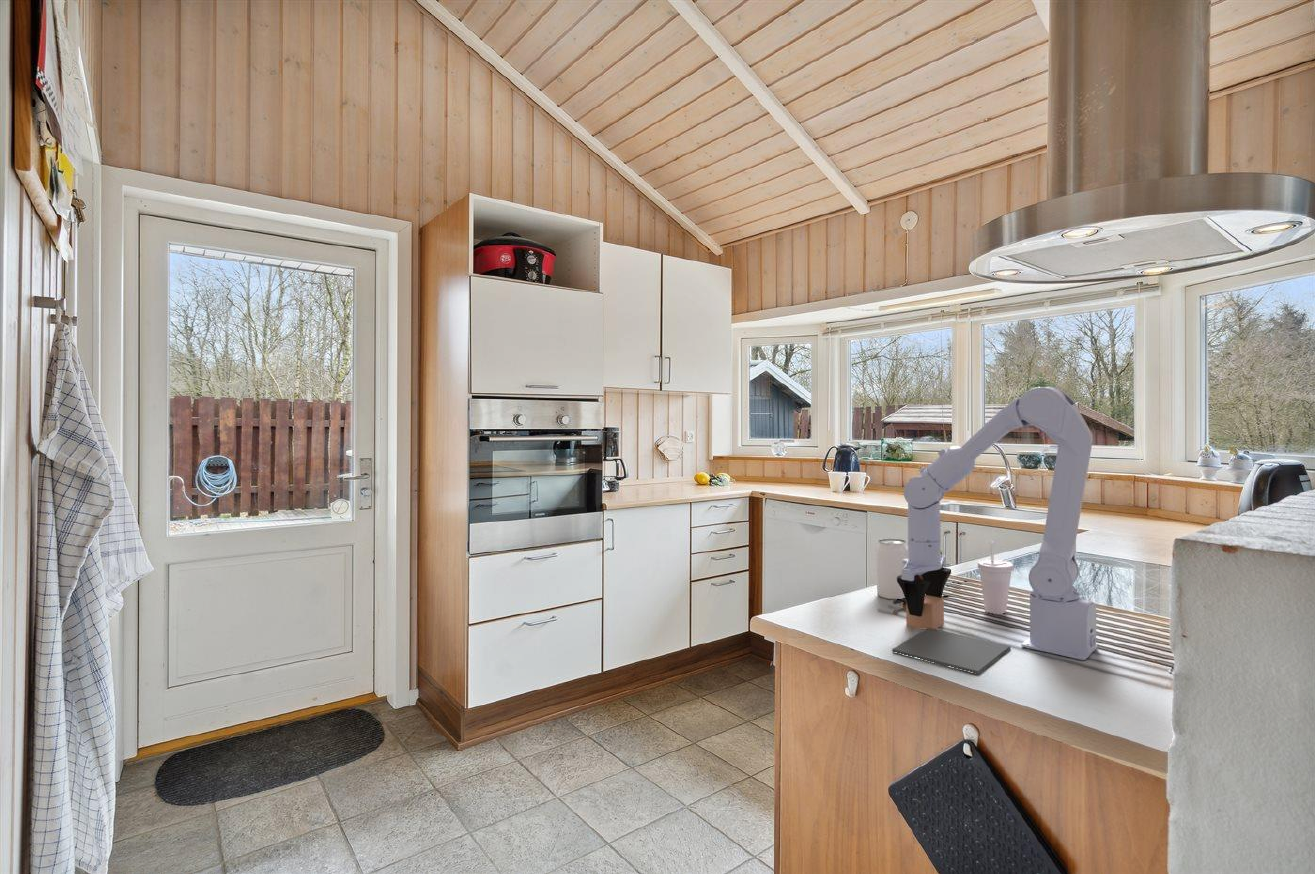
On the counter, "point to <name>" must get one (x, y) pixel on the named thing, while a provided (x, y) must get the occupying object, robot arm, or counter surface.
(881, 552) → the can
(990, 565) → the smoothie
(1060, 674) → the counter surface
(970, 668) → the mat
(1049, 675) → the counter surface
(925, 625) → the cube
